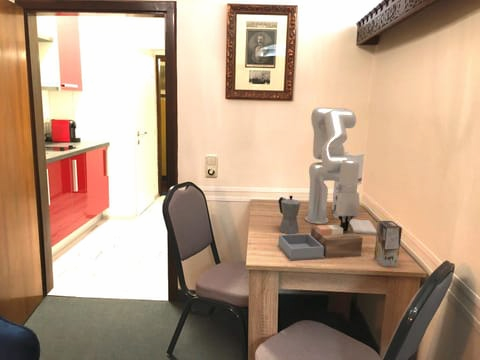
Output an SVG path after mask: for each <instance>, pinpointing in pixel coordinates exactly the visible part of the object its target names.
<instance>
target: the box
mask: <svg viewBox="0 0 480 360" xmlns="http://www.w3.org/2000/svg"><path fill="white" fill-rule="evenodd" d="M277 243H278V248H279V249H280V250H281V251H282V252H283V254H285V256H286V257H287V258H288V260H290V261H291V262H293V261H306V260H307V261H308V260H309V261H310V260H319V259H320V260H321V259H324V257H323V254H324V247H323V246H322V245H321V244H320V243H319V242H318V241H317V240H316V239H314V238H313V237H312V236H311V233H296V234H279V235H278V242H277Z"/></svg>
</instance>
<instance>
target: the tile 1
mask: <svg viewBox="0 0 480 360" xmlns="http://www.w3.org/2000/svg"><path fill="white" fill-rule="evenodd" d="M328 225H329V224H324V225H323V224H318V225H316V226H315V227H316V232H318V233H319V234H320V235H332V228H330V227H329V226H328Z"/></svg>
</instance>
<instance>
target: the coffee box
mask: <svg viewBox="0 0 480 360" xmlns="http://www.w3.org/2000/svg"><path fill="white" fill-rule="evenodd" d="M376 227H377V229H376V231H377V234H375V235H376V236H375V245H374V247H375V249H374V258H373V259H375V260H376V261H377V262H378V263H379V265H381V266H382V267H398V266H399V265H398V264H399V257H400V248H401V241H402V232H403V227H401V226H400V225H398V223H395V221H393V220H377V226H376Z"/></svg>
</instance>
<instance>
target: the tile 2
mask: <svg viewBox="0 0 480 360" xmlns="http://www.w3.org/2000/svg"><path fill="white" fill-rule="evenodd" d="M327 225H328V226H329V227H330V228H332V235H335V234H343V228H342V227H340V225H339V224H327Z"/></svg>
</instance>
